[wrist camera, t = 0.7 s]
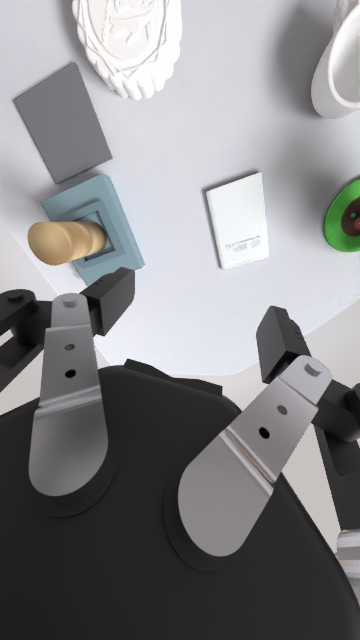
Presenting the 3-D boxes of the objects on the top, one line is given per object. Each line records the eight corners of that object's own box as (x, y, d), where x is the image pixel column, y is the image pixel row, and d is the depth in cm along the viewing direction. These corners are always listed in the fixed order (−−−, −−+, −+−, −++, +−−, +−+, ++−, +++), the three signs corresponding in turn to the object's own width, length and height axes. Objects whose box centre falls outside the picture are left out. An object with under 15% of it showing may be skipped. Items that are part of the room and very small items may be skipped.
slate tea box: (53, 203, 33) (35, 201, 29) (110, 177, 30) (98, 172, 27) (94, 281, 38) (84, 287, 35) (144, 264, 36) (139, 269, 33)
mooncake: (164, 118, 27) (159, 105, 24) (79, 77, 26) (62, 57, 23) (198, -21, 22) (198, -63, 18) (92, -82, 20) (73, -138, 17)
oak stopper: (74, 227, 31) (19, 230, 21) (98, 216, 30) (52, 215, 20) (88, 255, 33) (44, 270, 23) (112, 246, 32) (76, 258, 22)
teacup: (374, 101, 25) (417, 72, 20) (310, 142, 27) (335, 125, 22) (361, -10, 21) (410, -77, 16) (289, 48, 23) (313, 4, 18)
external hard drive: (258, 173, 29) (266, 255, 35) (205, 192, 31) (221, 268, 36) (261, 171, 28) (269, 257, 33) (205, 191, 29) (222, 270, 35)
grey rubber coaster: (17, 102, 27) (13, 100, 27) (77, 65, 25) (74, 61, 24) (58, 184, 31) (55, 183, 31) (112, 158, 29) (111, 157, 29)
